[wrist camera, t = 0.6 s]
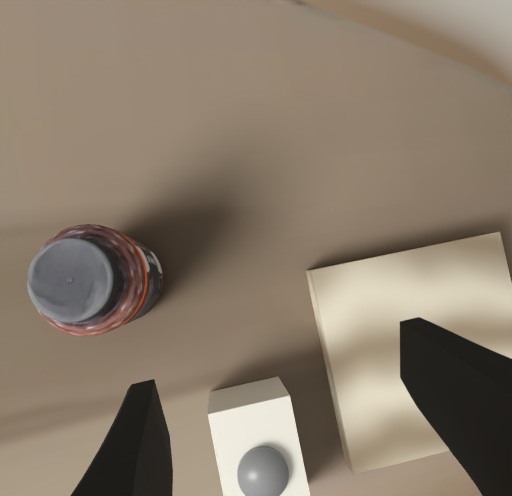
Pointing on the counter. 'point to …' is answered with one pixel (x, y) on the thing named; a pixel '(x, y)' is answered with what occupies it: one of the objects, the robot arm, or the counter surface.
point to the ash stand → (388, 336)
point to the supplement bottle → (93, 280)
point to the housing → (257, 440)
